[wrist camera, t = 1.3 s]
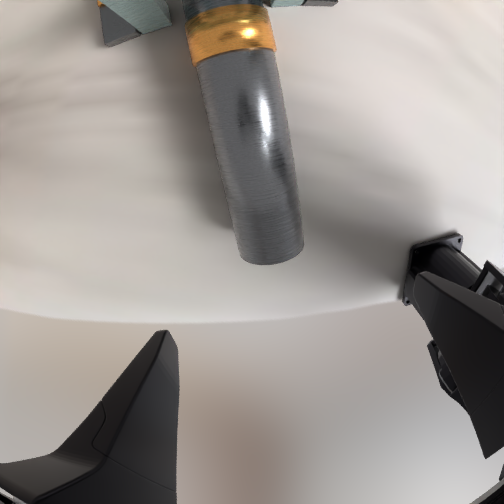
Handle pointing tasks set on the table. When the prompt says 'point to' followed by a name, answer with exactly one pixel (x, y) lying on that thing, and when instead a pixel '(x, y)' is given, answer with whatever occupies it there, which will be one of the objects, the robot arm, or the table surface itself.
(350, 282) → the table surface
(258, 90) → the tube
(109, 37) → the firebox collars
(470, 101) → the table surface
